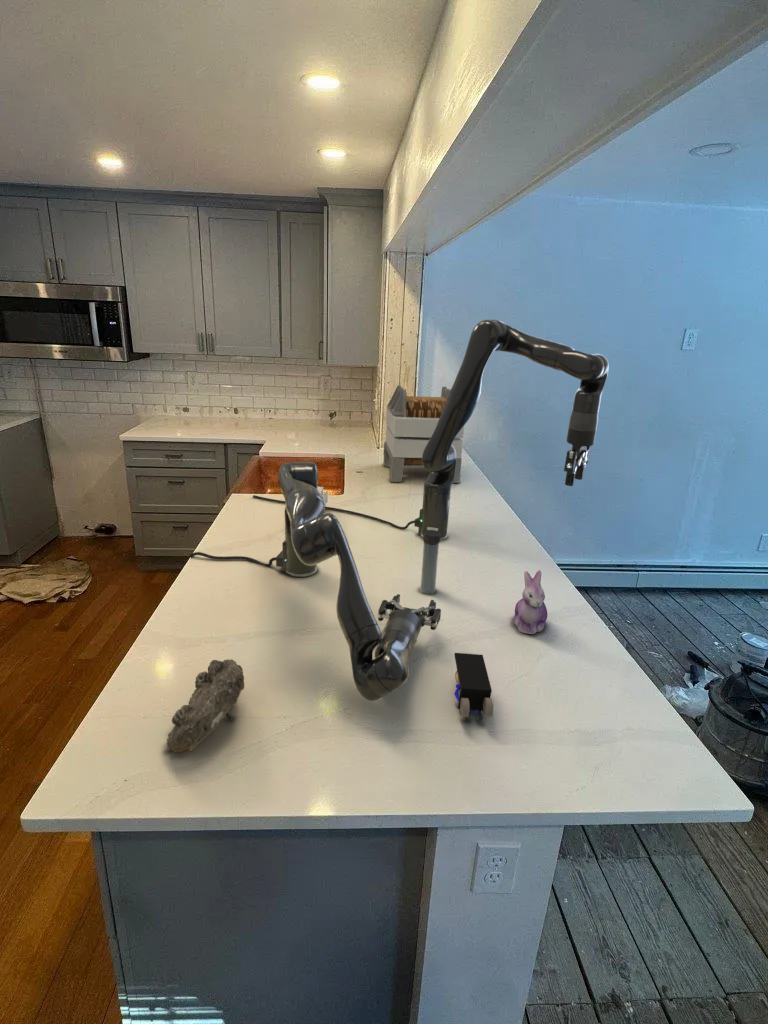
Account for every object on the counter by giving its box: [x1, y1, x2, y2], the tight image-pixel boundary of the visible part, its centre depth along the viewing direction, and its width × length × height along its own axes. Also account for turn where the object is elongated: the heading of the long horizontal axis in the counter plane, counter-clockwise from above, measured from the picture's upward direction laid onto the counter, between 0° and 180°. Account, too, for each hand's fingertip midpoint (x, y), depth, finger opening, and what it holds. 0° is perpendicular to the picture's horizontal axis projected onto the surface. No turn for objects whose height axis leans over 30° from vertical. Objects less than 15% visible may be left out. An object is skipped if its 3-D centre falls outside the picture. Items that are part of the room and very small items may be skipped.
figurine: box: [513, 569, 548, 635], centre depth 142 cm, size 9×10×15 cm
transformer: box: [383, 384, 465, 484], centre depth 268 cm, size 34×33×41 cm
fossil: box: [166, 658, 245, 754], centre depth 106 cm, size 22×10×15 cm
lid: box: [422, 530, 441, 544], centre depth 155 cm, size 5×5×2 cm
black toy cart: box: [454, 652, 494, 722], centre depth 114 cm, size 7×8×15 cm
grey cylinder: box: [419, 541, 440, 595], centre depth 158 cm, size 4×4×17 cm
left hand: (415, 600), depth 140 cm, fingers open, 8 cm apart
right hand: (573, 482), depth 165 cm, fingers open, 8 cm apart
